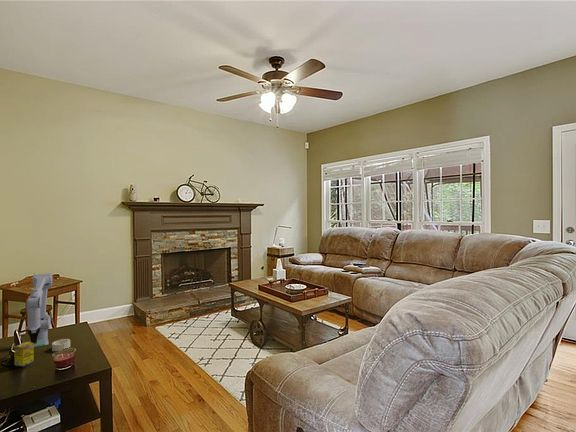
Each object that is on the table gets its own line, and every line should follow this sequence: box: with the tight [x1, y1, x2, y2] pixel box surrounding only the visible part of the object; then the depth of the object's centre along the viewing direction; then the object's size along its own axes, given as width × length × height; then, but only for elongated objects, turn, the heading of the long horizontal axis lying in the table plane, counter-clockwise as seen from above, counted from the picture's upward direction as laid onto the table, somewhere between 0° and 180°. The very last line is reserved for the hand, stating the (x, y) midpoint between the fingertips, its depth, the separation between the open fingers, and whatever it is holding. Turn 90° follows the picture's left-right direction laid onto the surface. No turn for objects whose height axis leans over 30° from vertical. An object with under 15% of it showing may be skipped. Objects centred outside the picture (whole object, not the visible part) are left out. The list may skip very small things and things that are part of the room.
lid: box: [28, 339, 46, 349], centre depth 185 cm, size 10×10×5 cm
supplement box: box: [13, 341, 35, 368], centre depth 174 cm, size 6×6×11 cm
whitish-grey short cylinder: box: [51, 338, 71, 352], centre depth 194 cm, size 9×9×4 cm
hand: (33, 341), depth 185 cm, fingers closed on lid, 3 cm apart
